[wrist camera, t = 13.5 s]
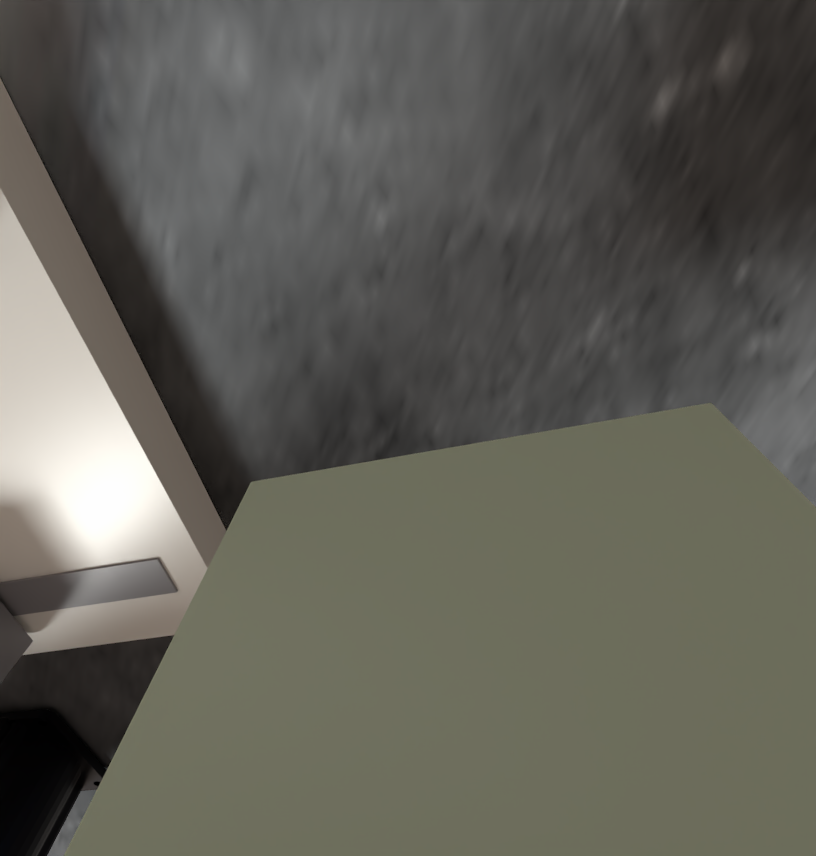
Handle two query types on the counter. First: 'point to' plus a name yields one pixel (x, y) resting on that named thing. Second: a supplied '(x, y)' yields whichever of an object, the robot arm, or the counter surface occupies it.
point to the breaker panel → (83, 440)
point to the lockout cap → (492, 660)
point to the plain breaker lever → (11, 641)
